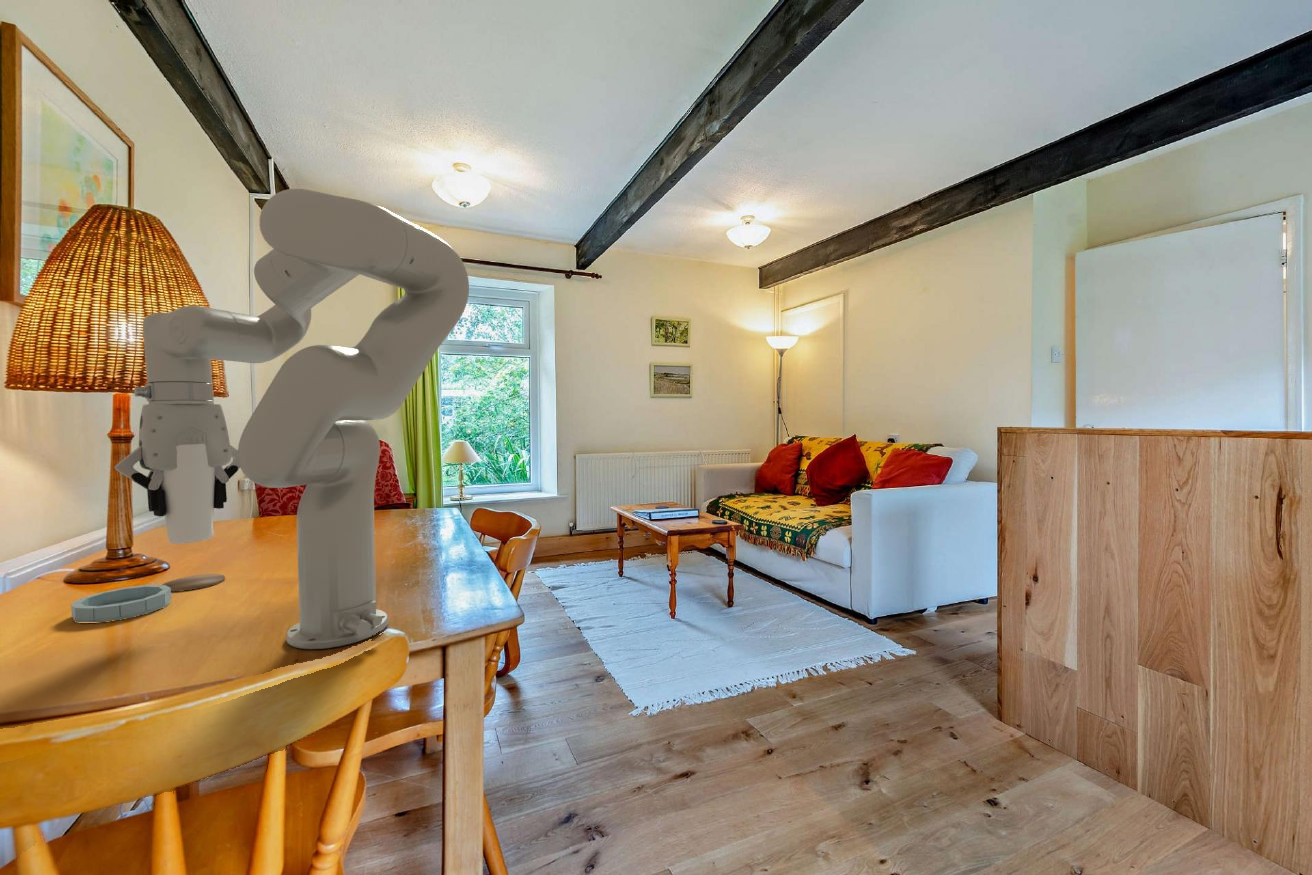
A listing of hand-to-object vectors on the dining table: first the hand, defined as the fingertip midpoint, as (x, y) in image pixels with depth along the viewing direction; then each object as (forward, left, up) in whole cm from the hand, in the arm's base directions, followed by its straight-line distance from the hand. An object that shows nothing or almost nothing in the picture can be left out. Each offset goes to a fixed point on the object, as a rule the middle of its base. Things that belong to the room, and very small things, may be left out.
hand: (189, 510), depth 82 cm
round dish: (+13, +5, -17) cm, 22 cm away
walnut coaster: (+21, -6, -17) cm, 27 cm away
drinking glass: (0, 0, -5) cm, 5 cm away
